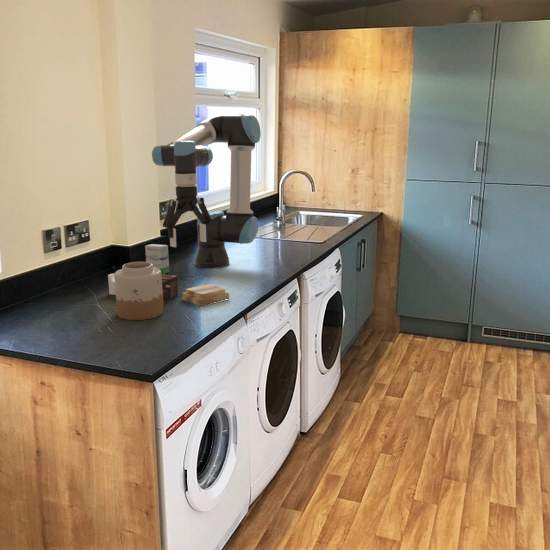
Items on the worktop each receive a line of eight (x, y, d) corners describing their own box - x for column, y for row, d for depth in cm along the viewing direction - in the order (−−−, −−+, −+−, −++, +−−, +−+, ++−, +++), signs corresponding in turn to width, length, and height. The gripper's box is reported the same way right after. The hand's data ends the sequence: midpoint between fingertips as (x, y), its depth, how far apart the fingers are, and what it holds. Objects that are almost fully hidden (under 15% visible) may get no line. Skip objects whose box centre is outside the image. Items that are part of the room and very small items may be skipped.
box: (155, 297, 222) (154, 278, 220) (164, 293, 228) (163, 274, 226) (170, 299, 220) (169, 279, 218) (178, 294, 226) (177, 275, 224)
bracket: (125, 296, 224) (123, 276, 222) (109, 294, 227) (107, 275, 225) (145, 287, 236) (144, 268, 234) (130, 285, 239) (129, 267, 237)
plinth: (182, 299, 219) (181, 288, 218) (208, 292, 227) (208, 282, 226) (202, 306, 211) (201, 295, 210) (229, 299, 219) (228, 288, 218)
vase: (124, 306, 212) (120, 259, 208) (167, 306, 211) (165, 259, 207) (111, 320, 197) (107, 270, 193) (158, 320, 197) (155, 270, 192)
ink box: (170, 272, 258) (168, 244, 255) (163, 274, 254) (161, 247, 251) (153, 270, 262) (151, 243, 259) (146, 272, 257) (144, 245, 254)
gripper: (163, 188, 206) (166, 250, 211) (219, 183, 223) (221, 240, 228) (150, 187, 211) (153, 247, 216) (206, 182, 228) (208, 238, 233)
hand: (188, 244), depth 222 cm, fingers open, 13 cm apart
